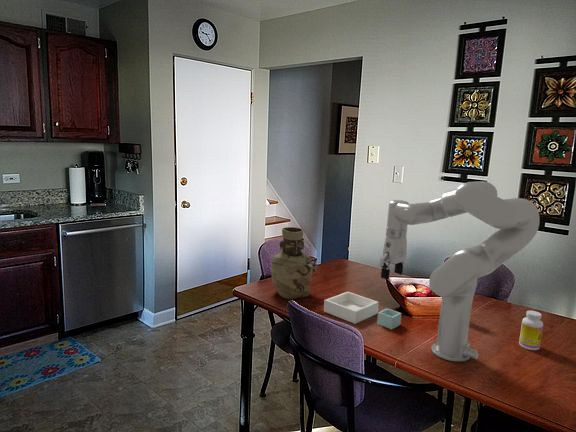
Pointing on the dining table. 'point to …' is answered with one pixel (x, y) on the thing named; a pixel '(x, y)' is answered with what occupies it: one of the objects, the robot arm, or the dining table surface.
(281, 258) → the ceramic vessel
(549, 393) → the dining table surface
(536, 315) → the supplement bottle
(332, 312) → the white square tray
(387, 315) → the small crate
